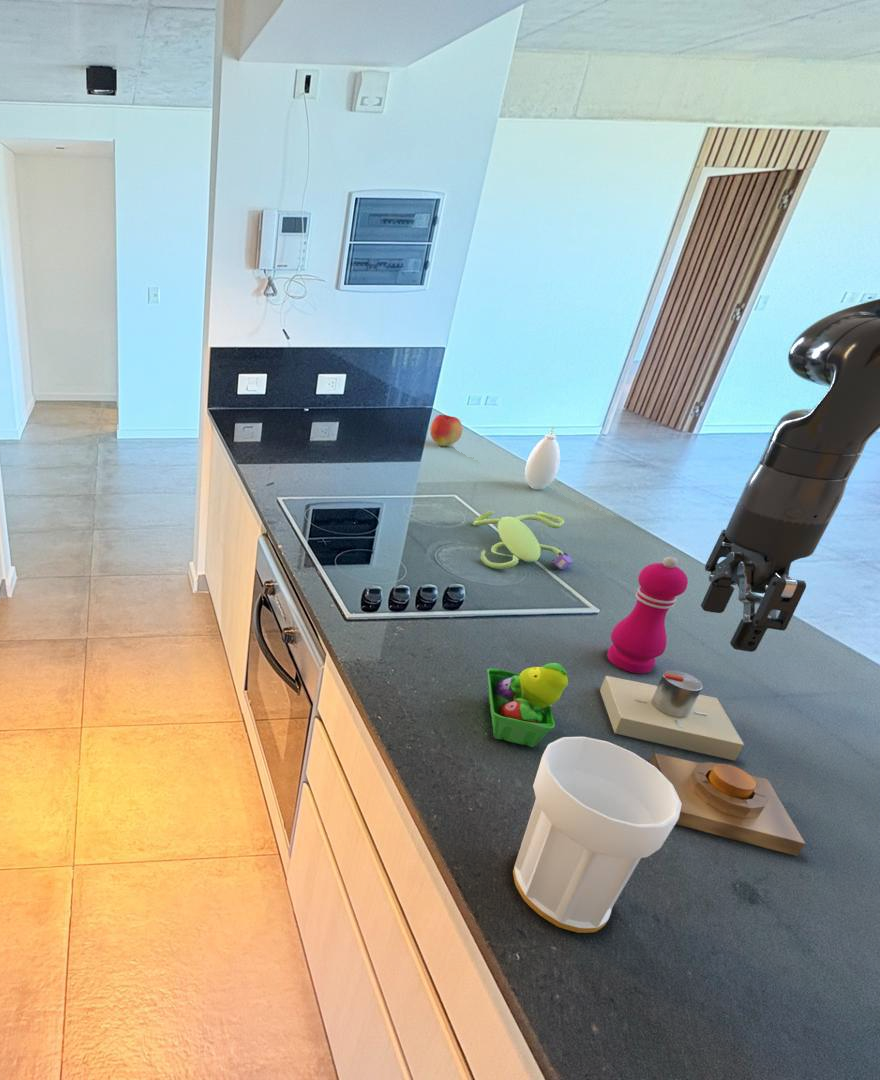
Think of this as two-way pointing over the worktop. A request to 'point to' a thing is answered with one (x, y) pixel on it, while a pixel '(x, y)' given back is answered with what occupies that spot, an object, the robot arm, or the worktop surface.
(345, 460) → the worktop surface
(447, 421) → the apple
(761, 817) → the switch block
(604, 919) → the cup
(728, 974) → the worktop surface
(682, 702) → the dimmer knob
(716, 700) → the dimmer panel
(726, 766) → the light button
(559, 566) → the figurine
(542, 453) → the sauce bottle
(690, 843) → the worktop surface
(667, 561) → the pepper mill
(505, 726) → the fruit basket
